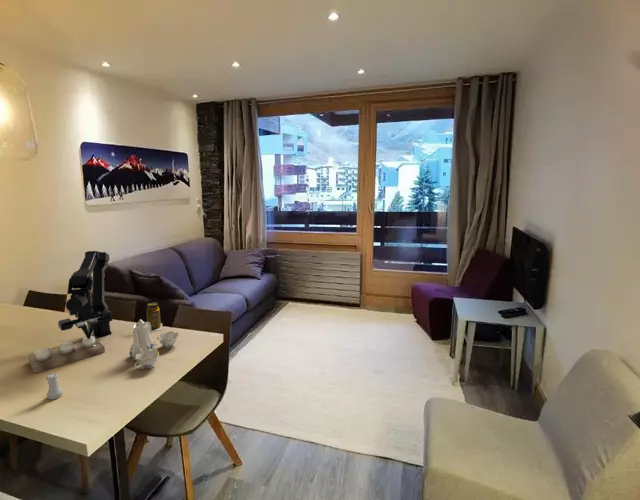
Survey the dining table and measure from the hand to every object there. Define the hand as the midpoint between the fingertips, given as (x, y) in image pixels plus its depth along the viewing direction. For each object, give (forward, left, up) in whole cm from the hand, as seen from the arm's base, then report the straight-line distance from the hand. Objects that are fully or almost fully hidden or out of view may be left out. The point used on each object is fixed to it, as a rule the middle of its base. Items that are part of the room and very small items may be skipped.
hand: (88, 338), depth 155 cm
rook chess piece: (+18, +29, -6) cm, 35 cm away
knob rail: (+8, 0, -6) cm, 10 cm away
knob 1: (+16, 0, -3) cm, 16 cm away
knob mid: (+8, 0, -3) cm, 9 cm away
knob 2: (0, 0, -3) cm, 3 cm away
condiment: (-29, -5, -6) cm, 30 cm away
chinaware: (-16, +23, -6) cm, 29 cm away
